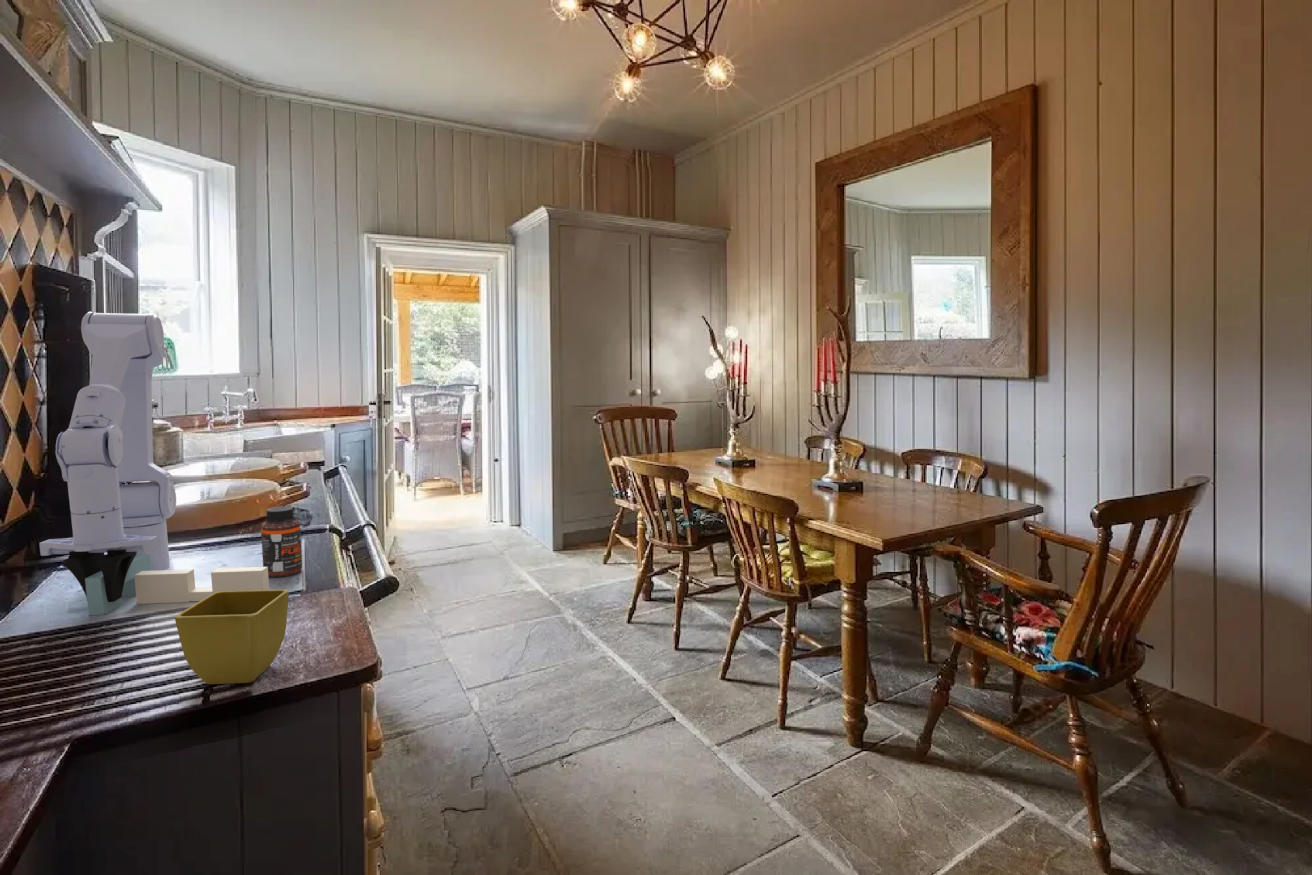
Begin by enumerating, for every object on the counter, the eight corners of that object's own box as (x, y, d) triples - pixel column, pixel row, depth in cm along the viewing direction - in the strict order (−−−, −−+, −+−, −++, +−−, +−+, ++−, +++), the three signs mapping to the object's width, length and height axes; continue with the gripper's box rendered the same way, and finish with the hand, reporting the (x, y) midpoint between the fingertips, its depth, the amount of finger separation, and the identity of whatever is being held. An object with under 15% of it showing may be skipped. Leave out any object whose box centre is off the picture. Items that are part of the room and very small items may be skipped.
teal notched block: (139, 587, 111) (136, 554, 110) (152, 586, 111) (149, 553, 111) (88, 615, 99) (84, 578, 98) (103, 614, 99) (100, 577, 99)
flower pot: (221, 659, 85) (216, 589, 84) (294, 657, 86) (290, 588, 85) (178, 694, 76) (172, 617, 75) (260, 691, 77) (255, 615, 76)
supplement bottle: (286, 579, 115) (281, 513, 114) (255, 577, 116) (250, 511, 115) (310, 568, 121) (306, 505, 119) (281, 566, 122) (276, 503, 121)
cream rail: (136, 604, 104) (134, 575, 103) (144, 599, 106) (142, 570, 105) (264, 598, 106) (262, 570, 105) (269, 594, 108) (267, 566, 107)
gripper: (19, 517, 95) (30, 612, 96) (134, 514, 97) (142, 607, 98) (56, 506, 102) (65, 594, 103) (162, 504, 104) (170, 590, 105)
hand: (105, 600), depth 101 cm, fingers closed on teal notched block, 2 cm apart
